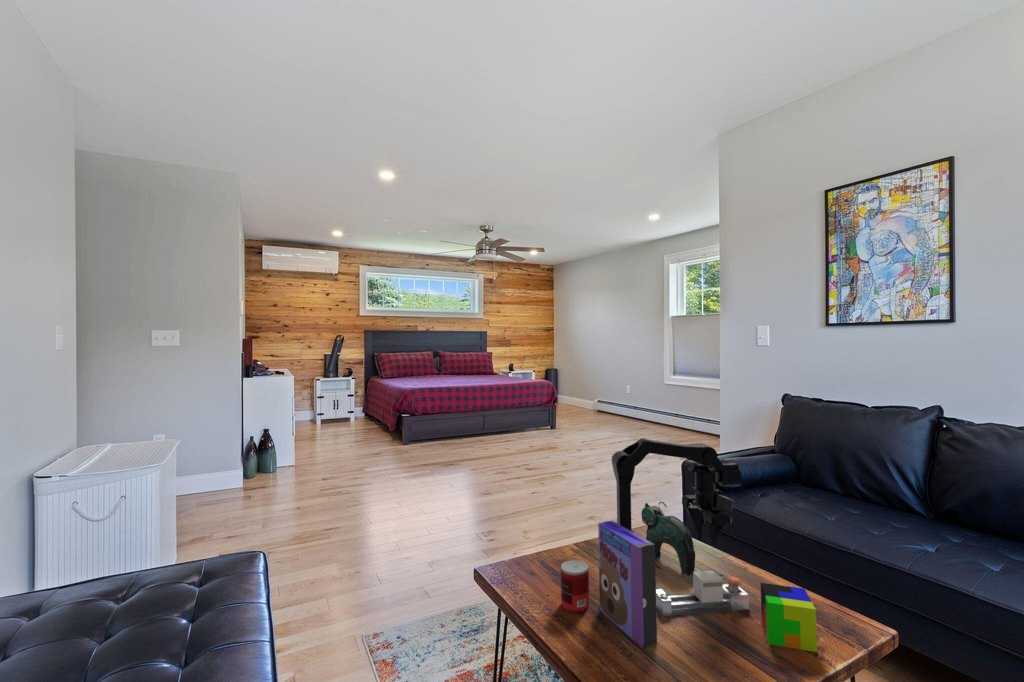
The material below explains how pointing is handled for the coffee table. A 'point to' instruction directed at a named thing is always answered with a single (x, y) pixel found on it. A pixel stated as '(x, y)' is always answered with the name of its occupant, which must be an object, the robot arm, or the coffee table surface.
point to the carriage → (708, 586)
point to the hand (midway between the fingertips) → (705, 537)
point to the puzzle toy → (788, 617)
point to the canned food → (575, 586)
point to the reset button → (733, 584)
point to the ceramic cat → (669, 536)
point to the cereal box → (628, 582)
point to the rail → (700, 603)
